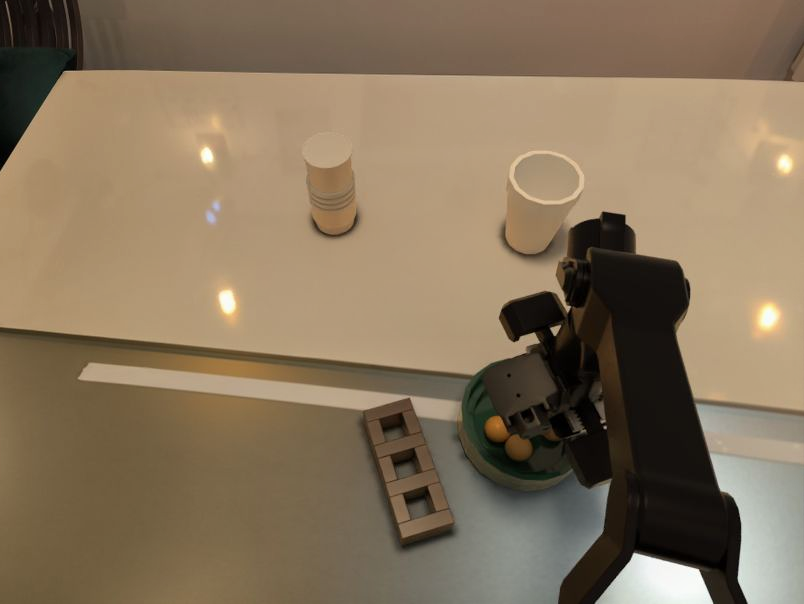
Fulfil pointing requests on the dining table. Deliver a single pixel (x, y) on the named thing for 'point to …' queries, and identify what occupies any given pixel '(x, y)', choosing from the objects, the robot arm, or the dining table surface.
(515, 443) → the bead
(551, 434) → the bead
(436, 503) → the rack
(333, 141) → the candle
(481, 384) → the bowl
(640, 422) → the robot arm
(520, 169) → the foam cup
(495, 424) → the bead
